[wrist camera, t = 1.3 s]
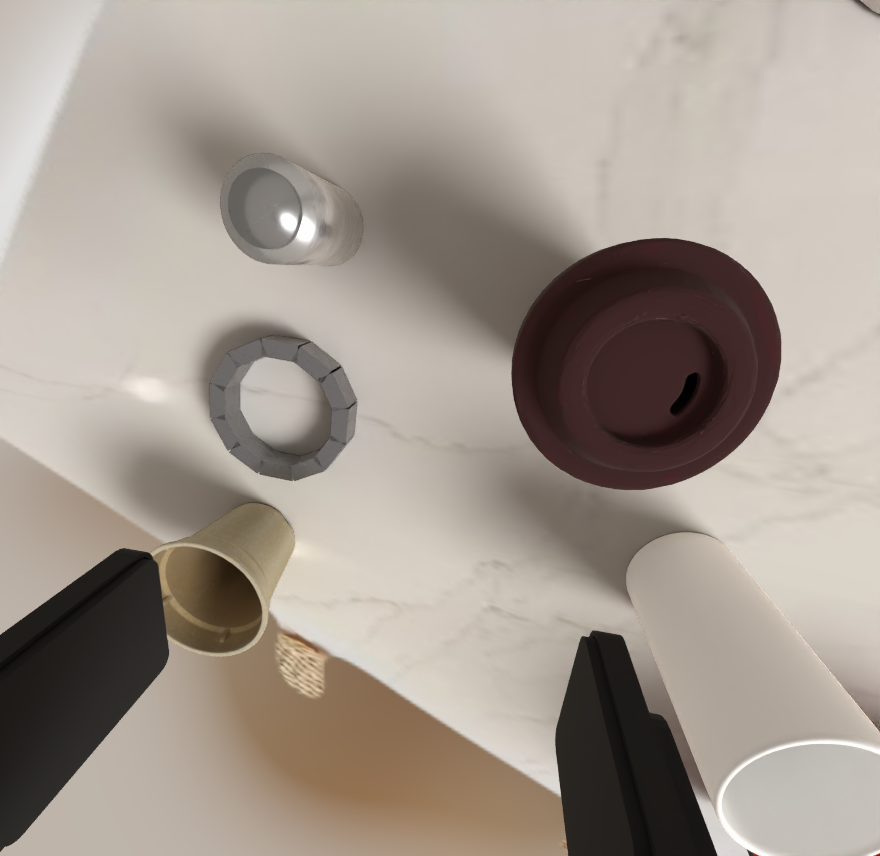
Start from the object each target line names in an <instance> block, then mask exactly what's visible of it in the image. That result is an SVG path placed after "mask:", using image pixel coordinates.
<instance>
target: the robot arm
mask: <svg viewBox="0 0 880 856" xmlns="http://www.w3.org/2000/svg"><path fill="white" fill-rule="evenodd" d="M860 1H862V2H863V3H864V4H865V5H866V6H868V7H869V8H870V9H871V10H872V11H874V12H876V13H879V14H880V0H860ZM168 656H169V648H168V640H167V632H166V623H165V615H164V607H163V599H162V591H161V583H160V575H159V567H158V563H157V562H156V561H154V559H153V556H152V555H151V554H150V553H148V552H142V551H137V550H131V549H125V548H123V549H119V550H117V551H115V552H114V553H113V554H111V555H110V556H109V557H107V558H106V559H105V560H103V561H102V562H100V563H99V564H97V565H96V566H95V567H93V568H92V569H91V570H89V571H88V572H87V573H85V574H84V575H82V576H81V577H79V578H78V579H77V580H75V581H74V582H73V583H71V584H70V585H69V586H67V587H66V588H64V589H63V590H62V591H60V592H59V593H57V594H56V595H55V596H53V597H52V598H50V599H49V600H48V601H47V602H45V603H44V604H42V605H41V606H39V607H38V608H37V609H35V610H34V611H33V612H31V613H30V614H28V615H27V616H26V617H24V618H23V619H22V620H20V621H19V622H17V623H16V624H15V625H13V626H12V627H10V628H9V629H8V630H6V631H5V632H4V633H2V634H1V635H0V852H1V850H2V849H3V848H4V847H5V846H9V845H11V844H13V843H14V842H15V841H17V840H18V839H19V838H20V837H21V836H22V835H23V834H24V833H25V832H26V830H27V829H28V828H29V827H30V826H31V824H32V823H33V822H34V821H35V820H36V818H37V817H38V816H39V815H40V814H41V813H42V811H43V810H44V809H45V808H46V807H47V806H48V804H49V803H50V802H51V801H52V800H53V798H54V797H55V796H56V795H57V794H58V792H59V791H60V790H61V789H62V788H63V787H64V786H65V784H66V783H67V782H68V781H69V780H70V779H71V777H72V776H73V775H74V774H75V772H76V771H77V770H78V769H79V768H80V767H81V766H82V764H83V763H84V762H85V761H86V760H87V758H88V757H89V756H90V755H91V754H92V753H93V751H94V750H95V749H96V748H97V747H98V745H99V744H100V743H101V742H102V741H103V740H104V738H105V737H106V736H107V735H108V734H109V733H110V731H111V730H112V729H113V728H114V727H115V725H116V724H117V723H118V722H119V720H121V718H122V717H123V716H124V715H125V714H126V713H127V711H128V710H129V709H130V708H131V707H132V705H133V704H134V703H135V702H136V701H137V700H138V698H139V697H140V696H141V695H142V694H143V693H144V691H145V690H146V689H147V688H148V687H149V685H150V684H151V683H152V682H153V681H154V679H155V678H156V677H157V676H158V675H159V674H160V672H161V671H162V670H163V669H164V667H165V665H166V663H167V660H168ZM555 745H556V755H557V764H558V772H559V781H560V789H561V798H562V805H563V815H564V823H565V831H566V840H567V848H568V856H717V853H716V850H715V848H714V845H713V842H712V840H711V837H710V834H709V832H708V829H707V826H706V824H705V821H704V818H703V816H702V813H701V810H700V808H699V805H698V802H697V800H696V797H695V794H694V792H693V789H692V786H691V784H690V781H689V778H688V776H687V773H686V770H685V768H684V765H683V762H682V759H681V757H680V754H679V751H678V749H677V746H676V743H675V741H674V738H673V735H672V733H671V730H670V728H669V726H668V724H667V722H666V720H665V719H664V718H663V717H662V716H661V715H658V714H653V713H649V711H648V708H647V705H646V702H645V699H644V696H643V693H642V690H641V687H640V685H639V682H638V679H637V676H636V673H635V670H634V667H633V664H632V661H631V658H630V655H629V652H628V649H627V646H626V643H625V641H624V639H623V637H622V636H621V635H617V634H611V633H605V632H600V631H592V632H591V634H590V636H589V637H585V636H582V637H581V639H580V642H579V646H578V650H577V653H576V657H575V661H574V665H573V668H572V672H571V676H570V679H569V683H568V687H567V691H566V694H565V698H564V702H563V705H562V709H561V713H560V717H559V720H558V724H557V728H556V738H555Z"/></svg>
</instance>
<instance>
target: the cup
mask: <svg viewBox="0 0 880 856" xmlns="http://www.w3.org/2000/svg"><path fill="white" fill-rule="evenodd" d="M626 586H627V590H628V593H629V596H630V598H631V601H632V603H633V606H634V608H635V611H636V613H637V616H638V618H639V621H640V623H641V626H642V628H643V631H644V634H645V636H646V639H647V641H648V644H649V646H650V649H651V651H652V654H653V656H654V659H655V661H656V664H657V666H658V669H659V671H660V674H661V676H662V679H663V681H664V684H665V687H666V689H667V692H668V694H669V697H670V699H671V702H672V704H673V707H674V709H675V712H676V714H677V717H678V719H679V722H680V724H681V727H682V729H683V732H684V734H685V737H686V740H687V742H688V745H689V747H690V750H691V752H692V755H693V757H694V760H695V762H696V765H697V767H698V770H699V772H700V775H701V777H702V780H703V782H704V785H705V787H706V790H707V792H708V795H709V797H710V800H711V802H712V805H713V807H714V810H715V812H716V815H717V817H718V819H719V820H720V822H721V824H722V826H723V828H724V829H725V831H726V832H727V833H728V834H729V836H730V837H731V838H732V839H733V840H735V841H736V842H737V843H738V844H740V845H741V846H743V847H744V848H746V849H747V850H749V851H751V852H753V853H755V854H757V855H759V856H874V855H876V854H878V853H880V732H879V730H878V729H877V728H876V727H875V725H874V724H873V723H872V722H871V721H870V719H869V718H868V717H867V716H866V714H865V713H864V712H863V711H862V710H861V708H860V707H859V706H858V705H857V704H856V702H855V701H854V700H853V699H852V697H851V696H850V695H849V694H848V693H847V691H846V690H845V689H844V688H843V686H842V685H841V684H840V683H839V682H838V680H837V679H836V678H835V677H834V676H833V674H832V673H831V672H830V671H829V669H828V668H827V667H826V666H825V665H824V663H823V662H822V661H821V660H820V659H819V657H818V656H817V655H816V654H815V652H814V651H813V650H812V649H811V648H810V646H809V645H808V644H807V643H806V642H805V640H804V639H803V638H802V637H801V635H800V634H799V633H798V632H797V631H796V629H795V628H794V627H793V626H792V625H791V623H790V622H789V621H788V620H787V618H786V617H785V616H784V615H783V614H782V612H781V611H780V610H779V609H778V608H777V606H776V605H775V604H774V603H773V601H772V600H771V599H770V598H769V597H768V595H767V594H766V593H765V592H764V590H763V589H762V588H761V587H760V586H759V584H758V583H757V582H756V581H755V580H754V578H753V577H752V576H751V575H750V573H749V572H748V571H747V570H746V569H745V567H744V566H743V565H742V564H741V563H740V561H739V560H738V559H737V558H736V556H735V555H734V554H733V553H732V552H731V550H730V549H729V548H728V547H727V546H726V545H724V544H723V543H722V542H720V541H719V540H717V539H715V538H713V537H710V536H708V535H704V534H700V533H693V532H680V533H673V534H668V535H665V536H662V537H659V538H657V539H655V540H653V541H651V542H649V543H648V544H646V545H645V546H644V547H642V548H641V549H640V550H639V551H638V552H637V553H636V554H635V556H634V557H633V559H632V560H631V562H630V564H629V566H628V569H627V573H626Z"/></svg>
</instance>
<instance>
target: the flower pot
mask: <svg viewBox="0 0 880 856" xmlns="http://www.w3.org/2000/svg"><path fill="white" fill-rule="evenodd" d="M294 546H295V536H294V532H293V529H292V527H291V526H290V525H289V524H288V523H287V522H286V521H285V519H284V518H283V516H282V514H281V513H280V512H278V511H277V510H275V509H273V508H272V507H269V506H267V505H264V504H258V503H248V504H244V505H241V506H239V507H236V508H235V509H233V510H232V511H230V512H229V513H227V514H226V515H224V516H223V517H221V518H220V519H218V520H217V521H215V522H213V523H212V524H210V525H209V526H207V527H205V528H204V529H202V530H200V531H199V532H197V533H196V534H194V535H192V536H191V537H186V538H183V539H180V540H178V541H173V542H169V543H166V544H163V545H161V546H159V547H157V548H156V549H154V550H153V551H151V552H150V554H151V555H152V556H153V559H154V561H156V562H157V563H158V567H159V575H160V583H161V591H162V599H163V607H164V615H165V623H166V632H167V639H168V640H170V641H171V642H173V643H174V644H176V645H178V646H179V647H181V648H184V649H186V650H189V651H191V652H194V653H198V654H202V655H207V656H230V655H235V654H238V653H241V652H243V651H245V650H247V649H249V648H251V647H252V646H253V645H254V644H256V642H257V641H258V640H259V639H260V637H261V636H262V634H263V632H264V630H265V628H266V625H267V620H268V610H269V607H270V599H271V597H272V595H273V592H274V590H275V588H276V586H277V584H278V582H279V579H280V577H281V575H282V573H283V571H284V569H285V567H286V565H287V563H288V561H289V558H290V556H291V555H292V553H293V550H294Z"/></svg>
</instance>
